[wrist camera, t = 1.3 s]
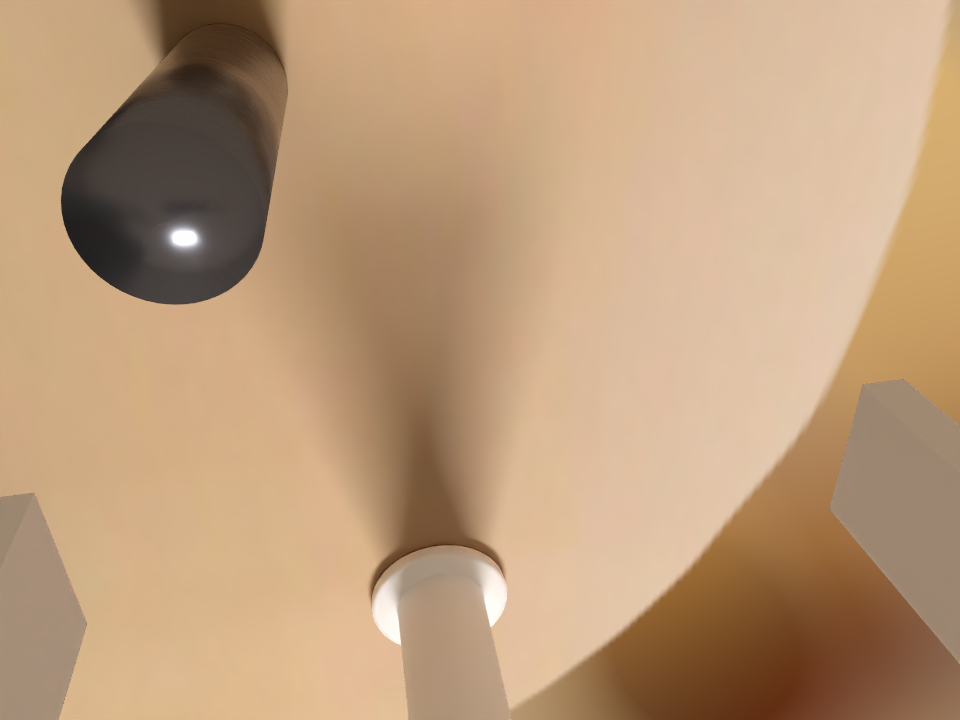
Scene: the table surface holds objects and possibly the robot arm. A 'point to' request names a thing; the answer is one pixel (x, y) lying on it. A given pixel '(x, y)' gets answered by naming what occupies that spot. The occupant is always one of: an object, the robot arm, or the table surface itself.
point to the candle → (445, 631)
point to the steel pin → (182, 171)
